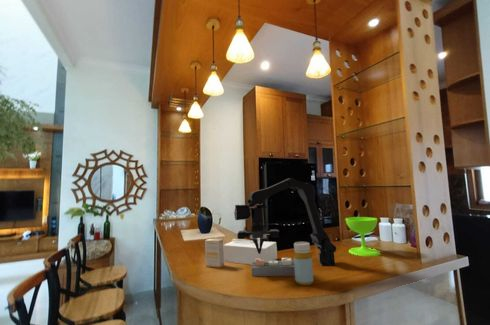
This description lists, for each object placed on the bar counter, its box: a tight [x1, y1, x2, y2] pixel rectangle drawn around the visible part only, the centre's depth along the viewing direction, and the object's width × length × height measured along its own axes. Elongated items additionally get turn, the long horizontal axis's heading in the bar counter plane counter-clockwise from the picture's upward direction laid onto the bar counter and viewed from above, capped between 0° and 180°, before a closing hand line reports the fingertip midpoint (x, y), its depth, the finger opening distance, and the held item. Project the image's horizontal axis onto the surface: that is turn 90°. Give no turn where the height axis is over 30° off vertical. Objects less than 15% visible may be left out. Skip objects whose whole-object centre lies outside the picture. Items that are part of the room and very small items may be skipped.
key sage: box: [269, 260, 279, 266], centre depth 110 cm, size 4×4×2 cm
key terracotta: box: [255, 258, 264, 266], centre depth 110 cm, size 4×4×2 cm
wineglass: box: [344, 216, 382, 258], centre depth 134 cm, size 16×16×18 cm
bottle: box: [293, 241, 314, 287], centre depth 97 cm, size 7×7×15 cm
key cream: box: [281, 257, 292, 265], centre depth 109 cm, size 4×4×2 cm
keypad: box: [251, 260, 295, 277], centre depth 109 cm, size 19×9×4 cm, turn 85°
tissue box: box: [223, 238, 278, 266], centre depth 131 cm, size 14×25×11 cm, turn 61°
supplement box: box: [204, 238, 225, 269], centre depth 123 cm, size 8×5×13 cm, turn 65°
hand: (259, 253), depth 111 cm, fingers closed
